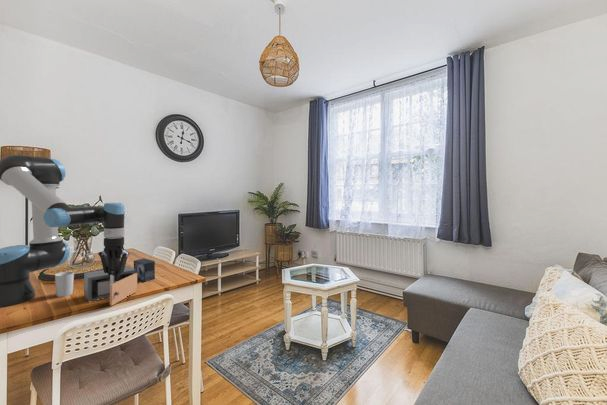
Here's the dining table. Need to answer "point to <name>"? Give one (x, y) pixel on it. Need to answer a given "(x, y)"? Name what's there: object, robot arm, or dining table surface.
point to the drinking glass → (64, 283)
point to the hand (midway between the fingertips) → (113, 288)
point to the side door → (123, 288)
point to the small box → (144, 269)
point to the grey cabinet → (101, 283)
